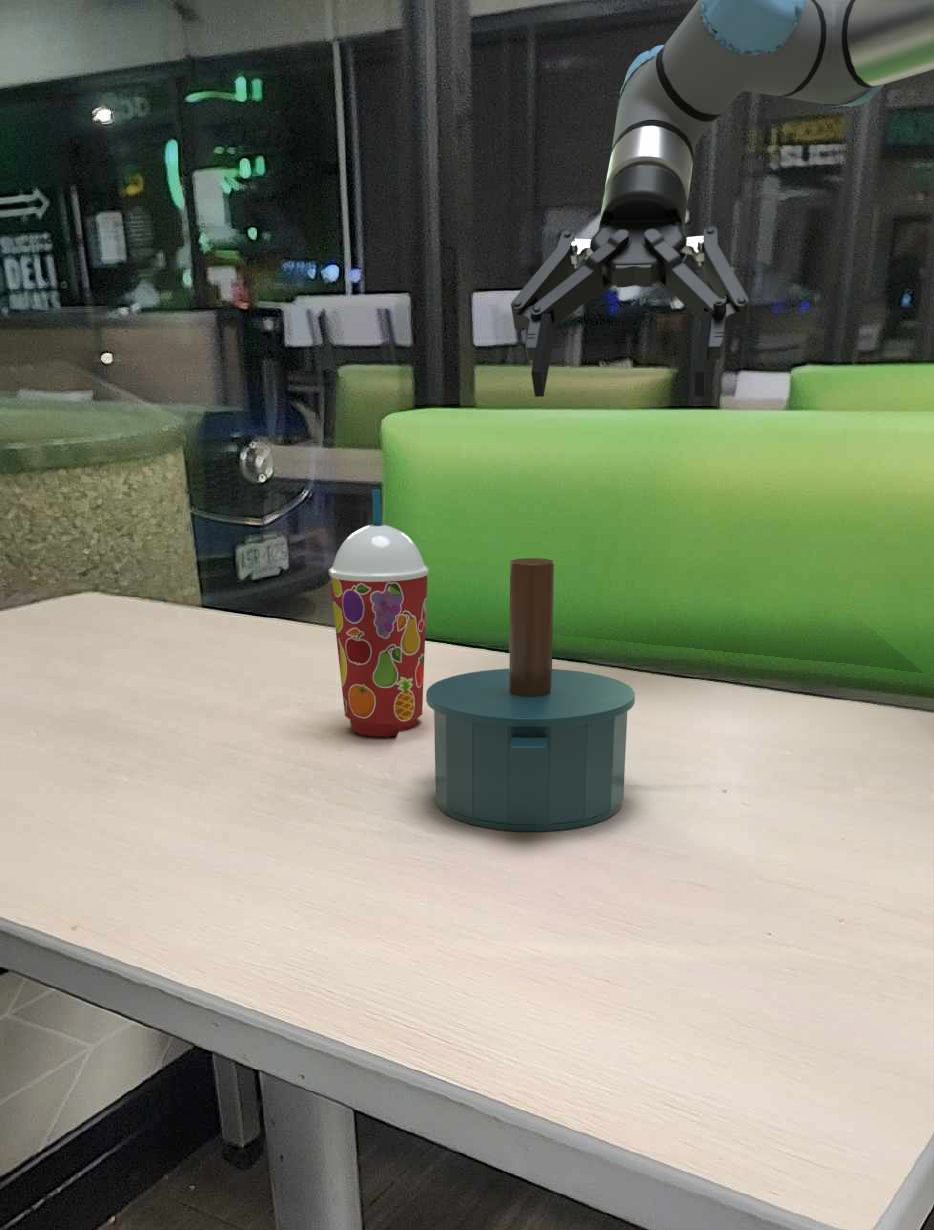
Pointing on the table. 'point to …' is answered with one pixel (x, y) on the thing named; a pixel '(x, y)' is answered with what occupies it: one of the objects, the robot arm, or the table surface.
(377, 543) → the smoothie
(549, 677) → the lid
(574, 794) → the tin
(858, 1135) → the table surface
